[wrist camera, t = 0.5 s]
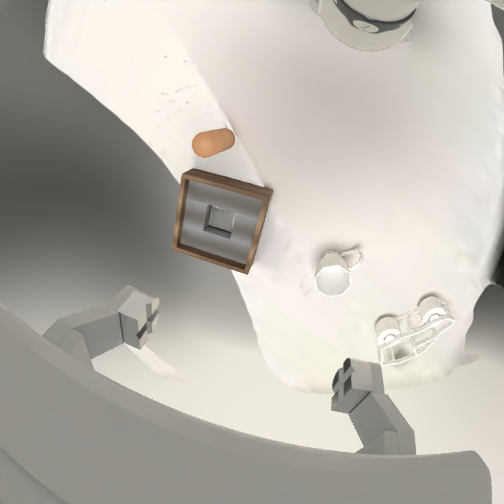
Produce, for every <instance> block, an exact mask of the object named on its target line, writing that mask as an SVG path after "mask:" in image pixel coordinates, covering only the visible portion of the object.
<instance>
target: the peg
mask: <svg viewBox="0 0 504 504" xmlns="http://www.w3.org/2000/svg"><path fill="white" fill-rule="evenodd" d="M234 143H235V136H234V133H233V132H232V131H231V130H229V129H225V128H224V129H217V130H212V131H206V132H201V133H199V134H197V135H196V136H195V137H194V139H193V141H192V148H193V151H194V152H195V154H196V155H198V156H199V157H203V158H207V157H210V156H212V155H215V154H217V153H219V152H222V151H224V150H227V149H229V148H231V147H232V146H233V145H234Z"/></svg>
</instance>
